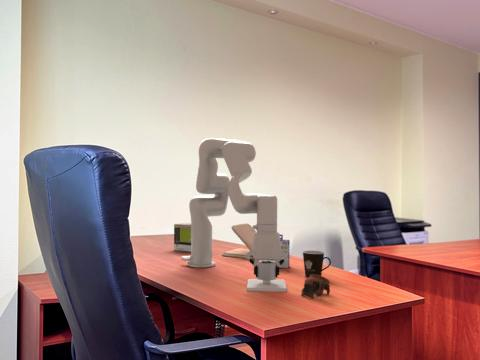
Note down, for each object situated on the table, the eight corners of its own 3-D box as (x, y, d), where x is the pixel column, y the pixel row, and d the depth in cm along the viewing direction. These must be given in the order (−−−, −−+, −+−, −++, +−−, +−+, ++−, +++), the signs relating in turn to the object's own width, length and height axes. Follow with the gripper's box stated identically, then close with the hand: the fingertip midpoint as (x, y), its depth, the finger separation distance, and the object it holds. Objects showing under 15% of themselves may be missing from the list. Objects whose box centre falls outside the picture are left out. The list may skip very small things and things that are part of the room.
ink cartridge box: (289, 266, 204) (290, 234, 204) (288, 268, 199) (289, 235, 199) (268, 265, 206) (268, 233, 206) (266, 267, 201) (267, 235, 201)
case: (255, 260, 219) (256, 227, 219) (219, 256, 229) (220, 225, 229) (273, 254, 237) (274, 224, 237) (239, 251, 247) (239, 222, 247)
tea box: (206, 250, 247) (206, 223, 247) (194, 252, 238) (195, 225, 238) (184, 248, 255) (185, 222, 255) (173, 250, 246) (173, 223, 246)
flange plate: (246, 291, 158) (247, 276, 158) (247, 281, 172) (248, 268, 172) (286, 291, 158) (286, 277, 158) (284, 282, 172) (284, 269, 172)
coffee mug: (298, 275, 185) (298, 251, 185) (316, 273, 188) (316, 250, 188) (314, 281, 174) (314, 255, 174) (332, 279, 177) (332, 254, 177)
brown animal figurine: (295, 294, 156) (303, 272, 159) (318, 305, 157) (326, 283, 160) (309, 294, 145) (317, 270, 148) (334, 306, 146) (342, 282, 149)
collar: (257, 280, 162) (257, 263, 162) (257, 276, 168) (257, 260, 168) (275, 280, 161) (275, 264, 161) (275, 276, 168) (275, 260, 168)
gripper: (243, 229, 161) (242, 278, 161) (291, 229, 161) (290, 279, 161) (243, 227, 169) (243, 274, 169) (289, 227, 168) (289, 275, 168)
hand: (266, 276), depth 165 cm, fingers closed on collar, 6 cm apart
